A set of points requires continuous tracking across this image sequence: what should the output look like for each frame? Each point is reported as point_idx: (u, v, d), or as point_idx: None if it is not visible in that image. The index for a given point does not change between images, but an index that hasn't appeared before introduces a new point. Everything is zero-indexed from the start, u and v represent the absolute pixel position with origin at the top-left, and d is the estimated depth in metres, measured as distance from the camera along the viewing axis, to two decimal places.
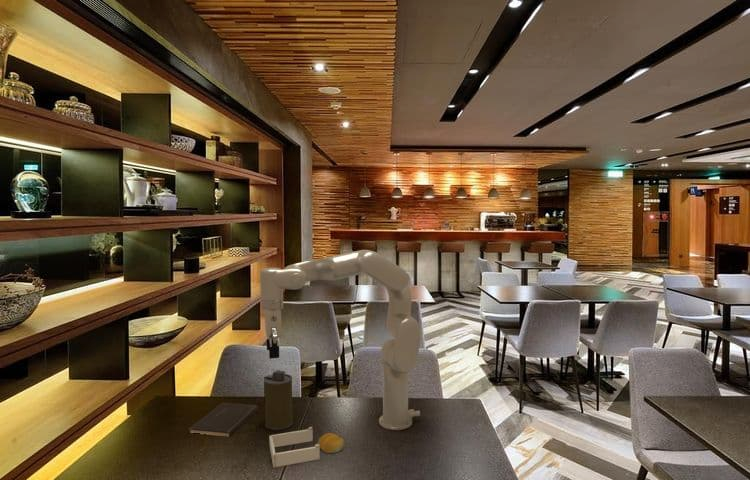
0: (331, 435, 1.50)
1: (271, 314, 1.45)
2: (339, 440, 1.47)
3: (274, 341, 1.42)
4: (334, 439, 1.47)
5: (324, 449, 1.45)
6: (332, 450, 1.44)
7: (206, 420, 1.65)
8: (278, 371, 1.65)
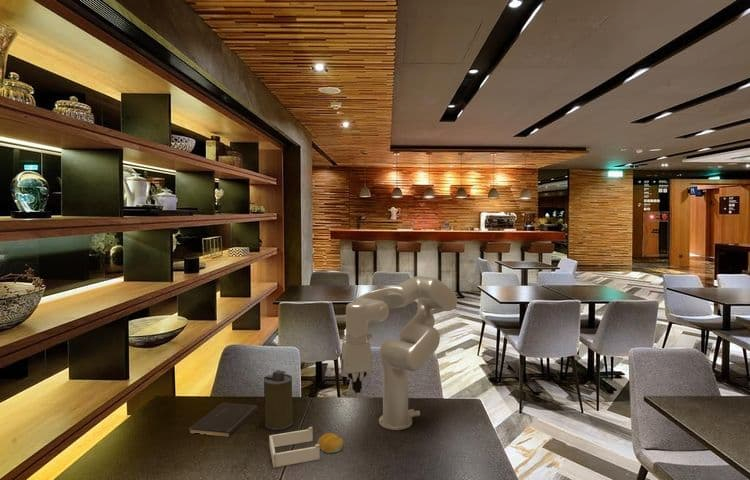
0: (331, 435, 1.50)
1: None
2: (339, 440, 1.47)
3: None
4: (334, 439, 1.47)
5: (324, 449, 1.45)
6: (332, 450, 1.44)
7: (206, 420, 1.65)
8: (278, 371, 1.65)
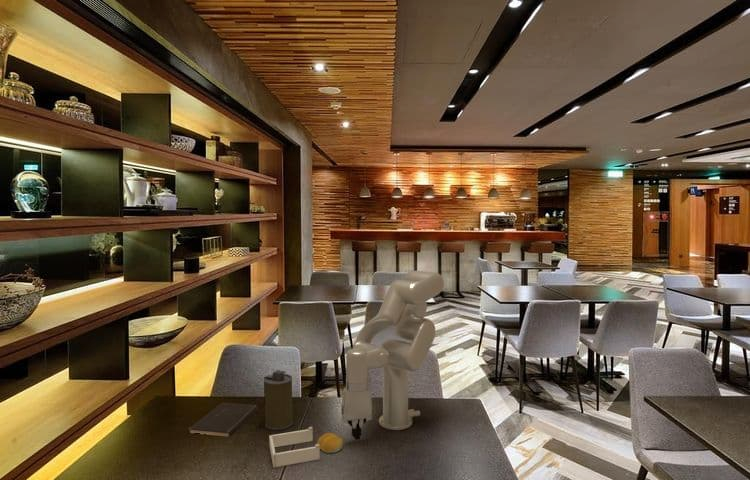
0: (330, 435, 1.50)
1: None
2: (338, 440, 1.47)
3: None
4: (333, 439, 1.47)
5: (323, 449, 1.45)
6: (331, 450, 1.44)
7: (206, 420, 1.65)
8: (278, 371, 1.65)
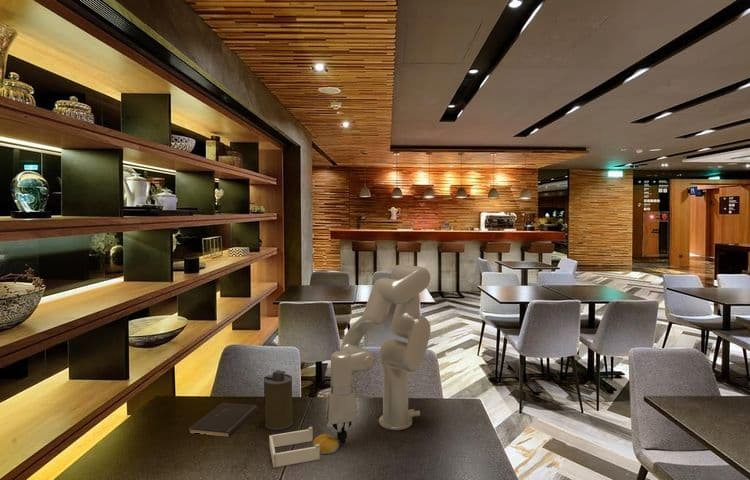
0: (326, 436, 1.49)
1: None
2: (334, 441, 1.47)
3: None
4: (329, 440, 1.46)
5: None
6: (327, 451, 1.44)
7: (206, 420, 1.65)
8: (278, 371, 1.65)
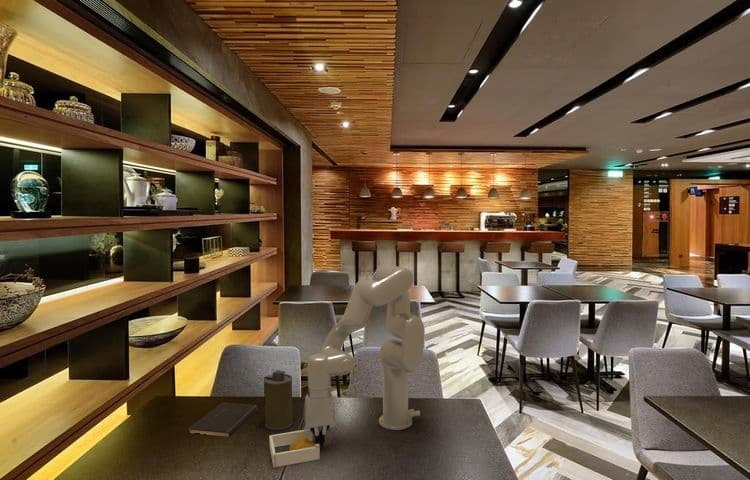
0: (303, 440, 1.47)
1: None
2: (312, 444, 1.44)
3: None
4: (306, 444, 1.44)
5: None
6: None
7: (206, 420, 1.65)
8: (278, 371, 1.65)
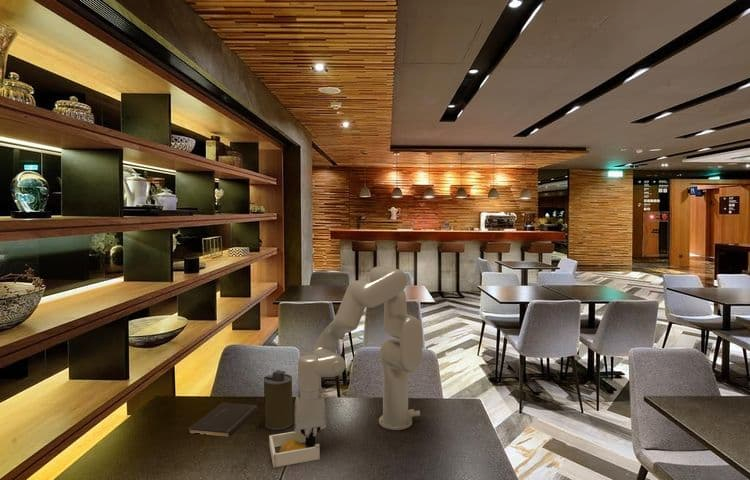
0: (293, 441, 1.45)
1: (323, 399, 1.47)
2: (302, 446, 1.43)
3: None
4: (297, 445, 1.43)
5: None
6: None
7: (206, 420, 1.65)
8: (278, 371, 1.65)
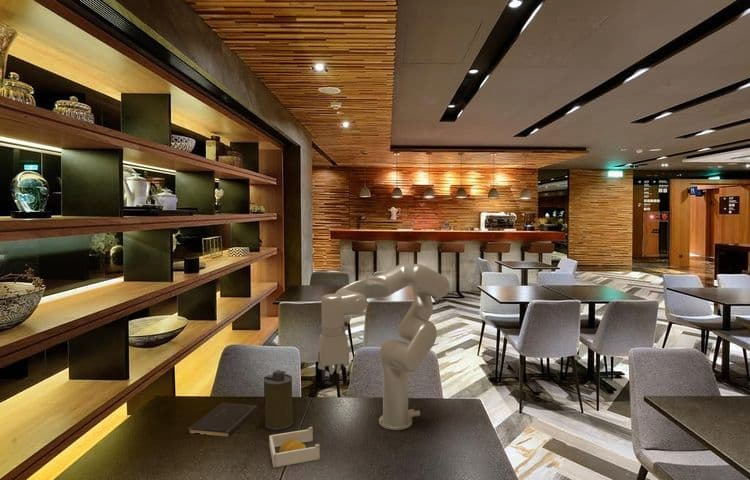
0: (293, 441, 1.45)
1: (346, 337, 1.49)
2: (301, 446, 1.43)
3: None
4: (296, 445, 1.43)
5: None
6: None
7: (205, 420, 1.65)
8: (278, 371, 1.65)
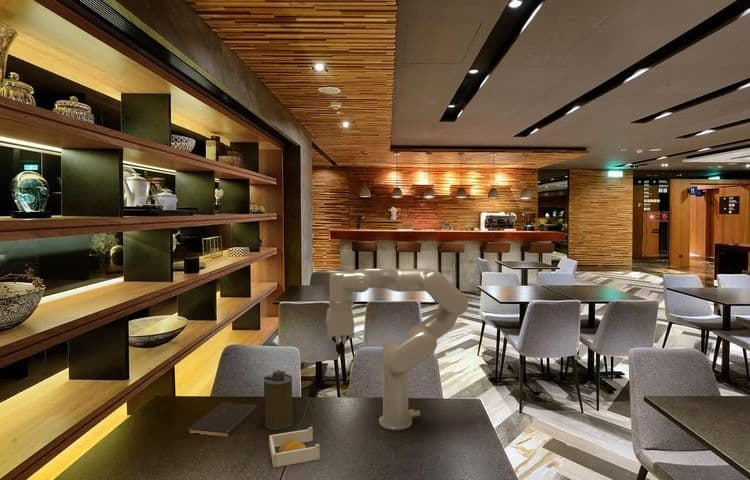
0: (293, 441, 1.45)
1: None
2: (301, 446, 1.43)
3: None
4: (296, 445, 1.43)
5: None
6: None
7: (205, 420, 1.65)
8: (278, 371, 1.65)
